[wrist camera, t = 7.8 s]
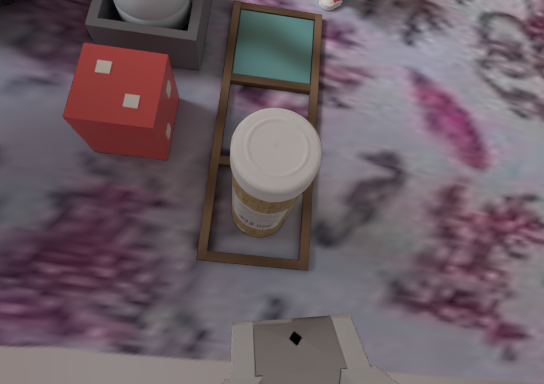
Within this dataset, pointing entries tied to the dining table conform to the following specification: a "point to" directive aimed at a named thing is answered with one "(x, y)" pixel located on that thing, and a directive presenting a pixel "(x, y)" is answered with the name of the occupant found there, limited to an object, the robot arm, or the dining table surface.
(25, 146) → the dining table surface
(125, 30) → the dome housing
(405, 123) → the dining table surface
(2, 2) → the squash
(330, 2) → the toy figures
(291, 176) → the sprinkles bottle
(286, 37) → the wooden frame
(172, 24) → the dome
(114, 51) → the red die
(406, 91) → the dining table surface
